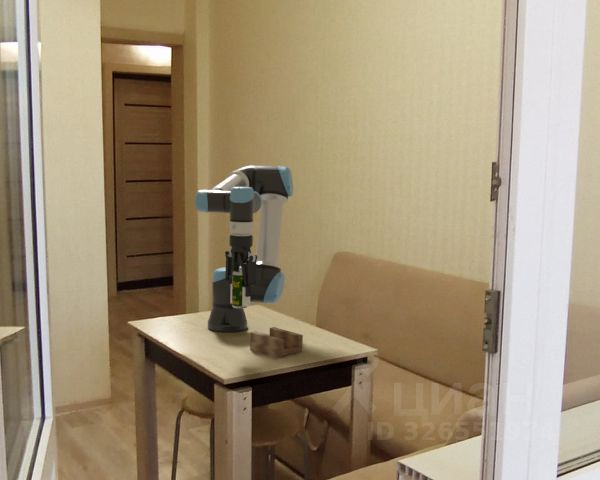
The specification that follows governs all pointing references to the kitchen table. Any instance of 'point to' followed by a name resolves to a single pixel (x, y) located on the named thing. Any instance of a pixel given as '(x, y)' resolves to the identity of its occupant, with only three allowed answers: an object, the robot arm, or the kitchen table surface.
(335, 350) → the kitchen table surface
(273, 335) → the slot block
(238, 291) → the beer can
